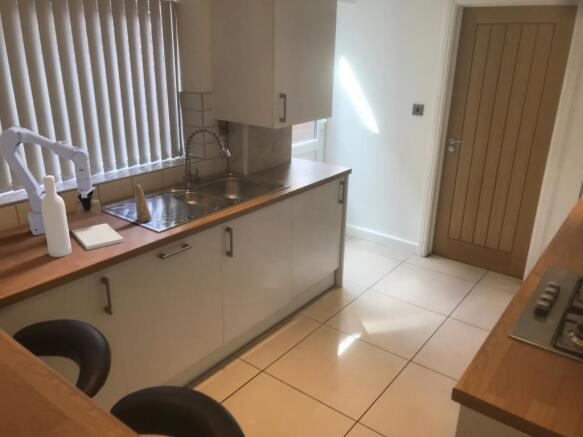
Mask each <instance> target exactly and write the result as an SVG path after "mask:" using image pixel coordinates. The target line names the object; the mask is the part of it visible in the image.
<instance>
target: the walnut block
mask: <svg viewBox="0 0 583 437" xmlns="http://www.w3.org/2000/svg"><path fill="white" fill-rule="evenodd" d="M75 210H76V216H87V215H98V214H101V204H100V199H91V208H90V211H84V208H83V205H82V203H81V201H80V200H77V201H75Z"/></svg>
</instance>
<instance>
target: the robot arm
mask: <svg viewBox="0 0 583 437" xmlns="http://www.w3.org/2000/svg"><path fill="white" fill-rule="evenodd" d="M26 143H33V144H35V145H38V146H41V147H44V148H46V149H49V150H51V151H52V152H53V154H54V155H56V156H59V157H61V158H63V159H66V160H69V161H71V162H72V163H73V164H74V172H75V173H74V174H75V179H76V180H75V181H76V187H77V189H76V191H77V192H78V195H77V199H78V201H81V203H82V205H83V208H84V211H90V208H91V200H93V199H92V198H93V193H94V191H95V190H96V187H95V186H93V183H92V175H91V169H90V162H89V158H90V153H89V152H88V150H86V149H85V148H83V147H79V146H77V145H76V146H74V145H72V144H69V143H67V141H65V140H62V141H61V140H58V141H54V140H52V139H50V138H47V137H45V136H43V135H40V134H38V133H36V132H34V131H32V130H30V129H28V128H25V127H22V126H19V125H12V126H10V127H9V128H7V129H4V130H3V131H2V132H1V133H0V154H1V157H3V159H4V160H5V162H6V164H7V165H8V166H9V168H10V169H11V171H12V173H13V174H14V175H15V177H16V178H17V180H18V181H19V182H20V185H21V186H22V187H23V189H24V190H25V192H26V193H27V199H28V201H29V204H30V205H29V206H30V208H31V210H32V211H31V212H28V213H27V217H28V218H27V219H28V224H29V231H30V232H31V233H32V235H33V236H37V235H42V234H46V233H45V227H44V221H43V215H42V209H41V202H42V199H43V198H44V197H45V196H46V194H45V188H43V187H42V186H40V185H39V183H38V181H37V180H36V179H35V177H34V175H33V174H32V173H31V171H30V169H29V168H28V166H27V165H26V163H25V162H24V160H23V158H22V157H21V156H20V155H19V153H18V150H19V148H20V146H21V144H26Z"/></svg>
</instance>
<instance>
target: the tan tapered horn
mask: <svg viewBox="0 0 583 437" xmlns="http://www.w3.org/2000/svg"><path fill="white" fill-rule="evenodd" d="M133 192H134V201H135V212H136V220H137V222H138V223H148V222H151V221H152V214H151V213H150V210H149V207H148V204H147V200H146V198H145V193H144V190H143V188H142V186H141V184H140V183H135V184H134V189H133Z"/></svg>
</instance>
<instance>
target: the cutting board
mask: <svg viewBox="0 0 583 437" xmlns="http://www.w3.org/2000/svg"><path fill="white" fill-rule="evenodd" d="M71 232H72V234H73V235H74V236H75V238H76V239H77V240H78V241H79V242H80V243H81V244H82V246H83V247H84V248H85V249H86V250H87V251H89V250H94V249H99V248H102V247H103V248H104V247H106V246H112V245H116V244H120V243H124V242H125V241H124V240H125V239H124V237H122V236H121V235H120V234H119V233H118V232H117V231H116V230H115V229H113V228H112V227H111V226H110V225H109V224H108V223H100V224H95V225H91V226H86V227H82V228H81V227H80V228H76V229H72V231H71Z"/></svg>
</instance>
